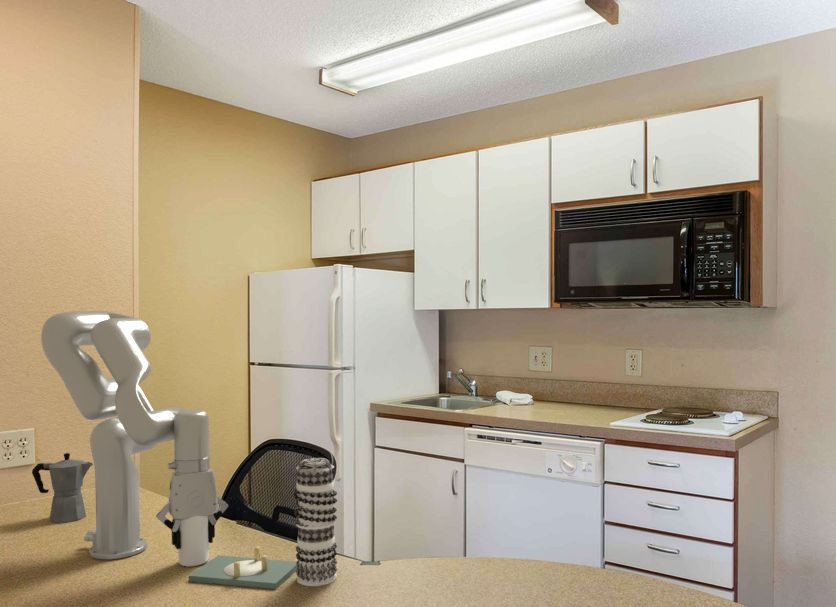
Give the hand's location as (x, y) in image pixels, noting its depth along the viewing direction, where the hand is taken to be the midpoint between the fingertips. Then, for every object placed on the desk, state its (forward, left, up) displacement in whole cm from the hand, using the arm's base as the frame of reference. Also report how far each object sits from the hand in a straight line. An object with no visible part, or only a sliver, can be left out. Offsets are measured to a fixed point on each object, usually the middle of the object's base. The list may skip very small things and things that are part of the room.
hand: (193, 543), depth 157 cm
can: (0, 0, -4) cm, 4 cm away
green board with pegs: (+15, -4, -4) cm, 16 cm away
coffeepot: (-54, +22, -4) cm, 59 cm away
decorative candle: (+31, -3, -4) cm, 31 cm away
